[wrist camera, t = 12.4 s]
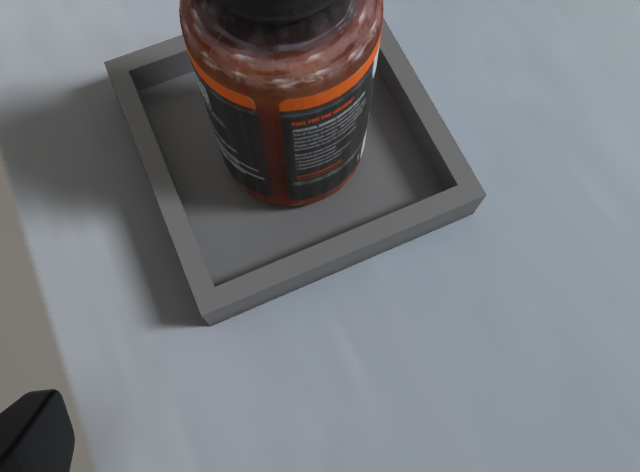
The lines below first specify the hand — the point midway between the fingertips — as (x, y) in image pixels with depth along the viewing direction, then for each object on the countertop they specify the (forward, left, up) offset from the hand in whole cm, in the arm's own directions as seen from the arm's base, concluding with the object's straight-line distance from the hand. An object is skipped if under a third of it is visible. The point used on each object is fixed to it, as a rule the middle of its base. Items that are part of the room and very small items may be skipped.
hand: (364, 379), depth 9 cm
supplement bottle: (+9, -7, -13) cm, 17 cm away
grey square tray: (+9, -7, -14) cm, 18 cm away
